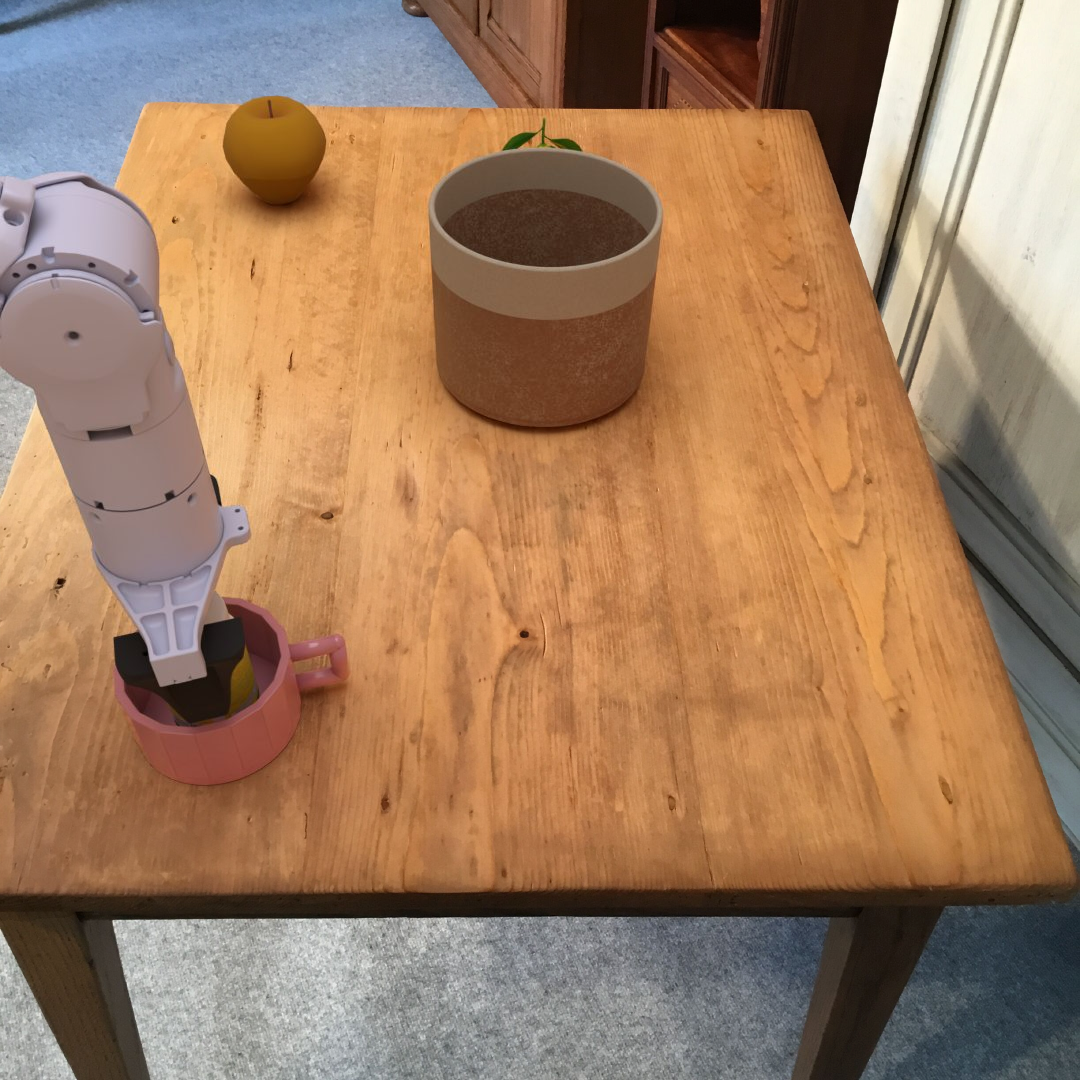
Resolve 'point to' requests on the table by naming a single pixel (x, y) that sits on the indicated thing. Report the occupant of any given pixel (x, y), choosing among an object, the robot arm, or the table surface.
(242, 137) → the apple
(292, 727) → the pink mug
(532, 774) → the table surface
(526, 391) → the planter
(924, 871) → the table surface
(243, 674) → the supplement bottle
